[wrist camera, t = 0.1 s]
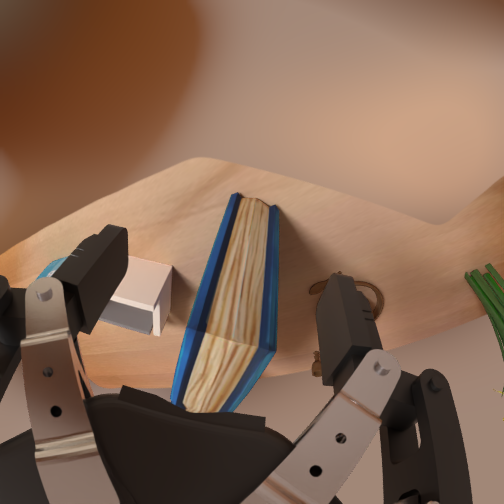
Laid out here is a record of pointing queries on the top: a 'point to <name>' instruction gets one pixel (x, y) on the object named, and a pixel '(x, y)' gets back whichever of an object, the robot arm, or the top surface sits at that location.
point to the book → (232, 312)
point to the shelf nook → (141, 297)
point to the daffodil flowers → (490, 299)
